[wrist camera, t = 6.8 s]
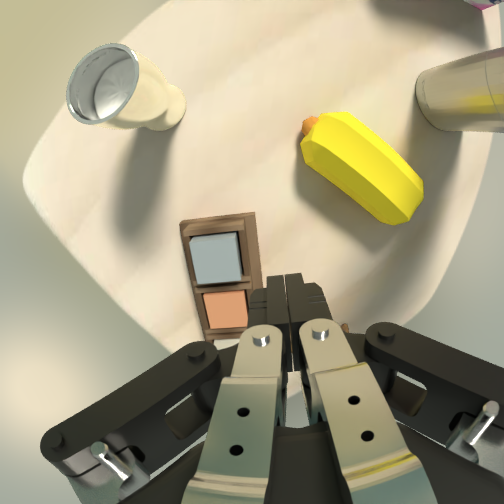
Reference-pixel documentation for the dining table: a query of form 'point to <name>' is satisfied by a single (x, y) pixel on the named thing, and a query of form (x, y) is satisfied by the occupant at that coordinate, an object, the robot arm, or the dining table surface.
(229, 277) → the slate button
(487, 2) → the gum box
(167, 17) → the dining table surface
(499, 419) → the robot arm
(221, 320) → the terracotta button
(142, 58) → the beer glass
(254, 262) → the button board
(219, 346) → the ivory button
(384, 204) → the ripe banana
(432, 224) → the dining table surface
